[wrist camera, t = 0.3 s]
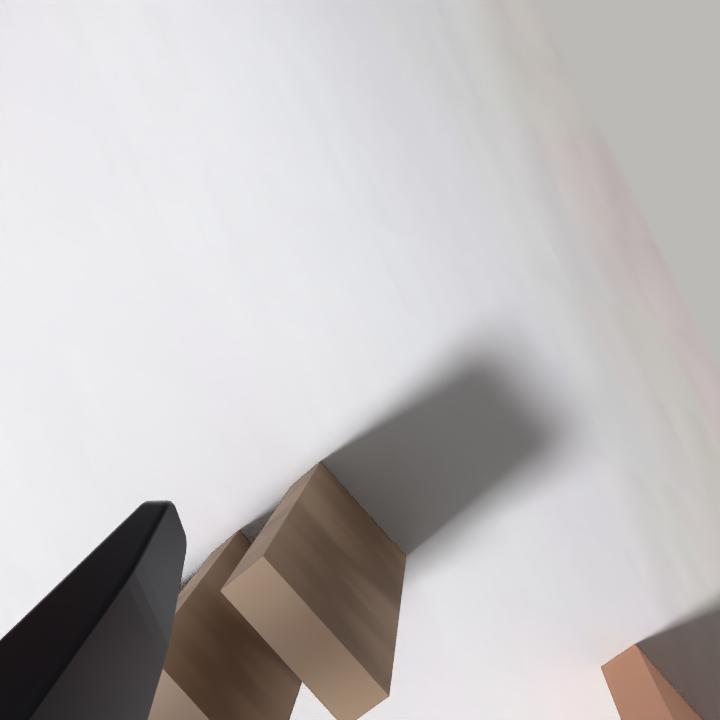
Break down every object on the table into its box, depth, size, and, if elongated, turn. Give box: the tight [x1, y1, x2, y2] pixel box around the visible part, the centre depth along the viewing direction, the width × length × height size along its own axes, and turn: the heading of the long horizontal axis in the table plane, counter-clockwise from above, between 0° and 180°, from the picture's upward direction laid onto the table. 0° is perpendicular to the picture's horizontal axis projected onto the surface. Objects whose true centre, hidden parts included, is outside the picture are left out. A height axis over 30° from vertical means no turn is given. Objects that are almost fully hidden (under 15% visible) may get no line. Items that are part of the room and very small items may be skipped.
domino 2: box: [221, 461, 406, 720], centre depth 21 cm, size 5×2×8 cm, turn 42°
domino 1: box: [148, 530, 302, 720], centre depth 21 cm, size 5×2×8 cm, turn 42°
